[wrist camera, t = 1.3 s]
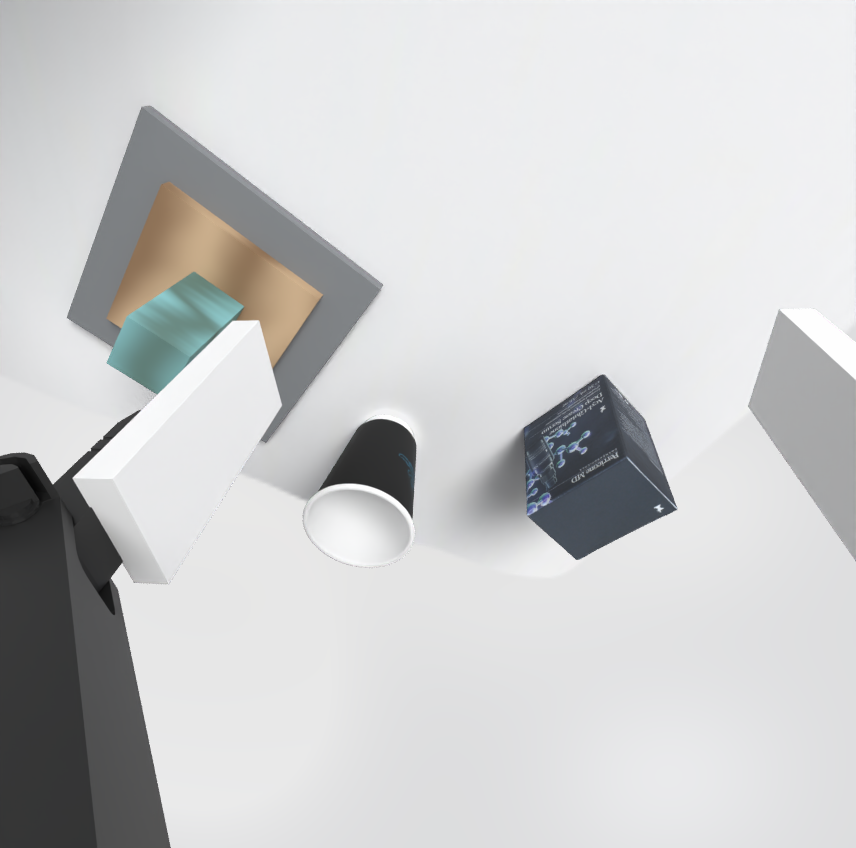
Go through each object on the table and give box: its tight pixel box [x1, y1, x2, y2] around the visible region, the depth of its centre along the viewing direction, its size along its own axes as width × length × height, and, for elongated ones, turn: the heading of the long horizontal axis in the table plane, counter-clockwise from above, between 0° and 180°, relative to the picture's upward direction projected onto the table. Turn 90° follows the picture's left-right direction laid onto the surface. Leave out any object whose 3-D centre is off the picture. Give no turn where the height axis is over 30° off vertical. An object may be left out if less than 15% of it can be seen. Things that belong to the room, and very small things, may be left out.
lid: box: [106, 182, 323, 395], centre depth 36 cm, size 12×12×9 cm
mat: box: [67, 106, 383, 442], centre depth 40 cm, size 18×18×1 cm
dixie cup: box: [303, 415, 416, 568], centre depth 41 cm, size 8×8×11 cm
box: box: [524, 375, 677, 560], centre depth 38 cm, size 8×6×11 cm
